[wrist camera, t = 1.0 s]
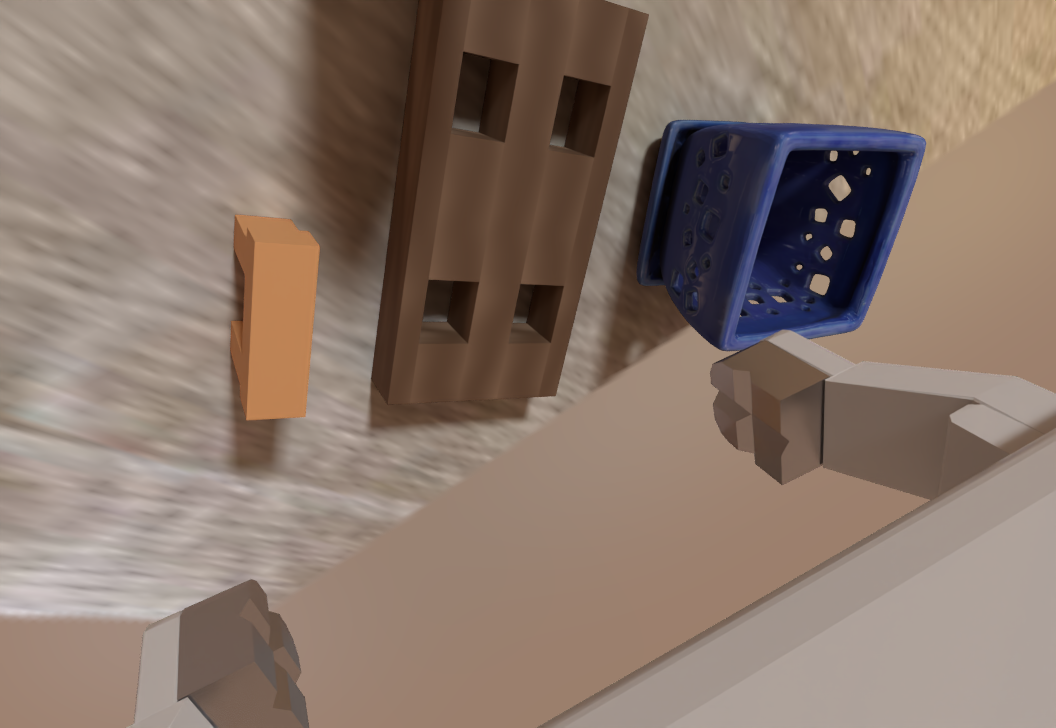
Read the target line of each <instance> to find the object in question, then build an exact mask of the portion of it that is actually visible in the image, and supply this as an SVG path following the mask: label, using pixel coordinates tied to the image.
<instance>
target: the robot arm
mask: <svg viewBox="0 0 1056 728" xmlns="http://www.w3.org/2000/svg"><path fill="white" fill-rule="evenodd" d="M710 376H711V384H712V385H713V386H714V387H716V388H717V389H718V390H719V392H718V394H717V396H716V399H715V401H714V403H713V409H714V416H715V420H716V423H717V425H718V427H719V429H720V431H721V433H722V434H723V436H724V437H725V438H726V439H727V441H728V442H729V443H730V444H732V445H733V446H734V447H735V448H736V449H738V450H741V451H745V452H750V453H754V457H755V464H756V465H757V466H759V467H760V468H761V469H762V470H764V471H765V472H766V473H767V474H769V475H770V476H771V477H772V478H774V479H775V480H776V481H777V482H779V483H780V484H781V485H784V484H786V483H788V482H790V481H792V480H794V479H796V478H798V477H800V476H802V475H804V474H806V473H808V472H810V471H812V470H814V469H816V468H818V467H820V466H822V465H823V468H827V469H830V470H833V471H836V472H840V473H843V474H846V475H850V476H853V477H856V478H860V479H863V480H866V481H870V482H873V483H876V484H880V485H883V486H887V487H890V488H893V489H897V490H900V491H903V492H906V493H910V494H913V495H916V496H920V497H923V498H926V499H930V501H928V502H927V503H925V504H923V505H922V506H920V507H918V508H916V509H915V510H913V511H911V512H910V513H908V514H906V515H904V516H902V517H901V518H899V519H897V520H896V521H894V522H892V523H890V524H888V525H887V526H885V527H883V528H882V529H880V530H878V531H876V532H875V533H873V534H871V535H870V536H868V537H866V538H864V539H863V540H861V541H859V542H857V543H856V544H854V545H852V546H851V547H849V548H847V549H845V550H843V551H842V552H840V553H839V554H837V555H835V556H833V557H831V558H830V559H828V560H826V561H824V562H823V563H821V564H819V565H817V566H816V567H814V568H812V569H811V570H809V571H807V572H805V573H804V574H802V575H800V576H799V577H797V578H795V579H793V580H792V581H790V582H788V583H786V584H785V585H783V586H781V587H779V588H778V589H776V590H774V591H773V592H771V593H769V594H767V595H766V596H764V597H762V598H760V599H759V600H757V601H755V602H753V603H752V604H750V605H748V606H747V607H745V608H743V609H742V610H740V611H738V612H736V613H734V614H733V615H731V616H729V617H728V618H726V619H724V620H722V621H721V622H719V623H717V624H715V625H714V626H712V627H710V628H708V629H707V630H705V631H703V632H702V633H700V634H698V635H696V636H695V637H693V638H691V639H690V640H688V641H686V642H684V643H682V644H681V645H679V646H677V647H676V648H674V649H672V650H671V651H669V652H667V653H665V654H663V655H662V656H660V657H658V658H656V659H655V660H653V661H651V662H650V663H648V664H646V665H644V666H643V667H641V668H639V669H637V670H636V671H634V672H632V673H631V674H629V675H627V676H625V677H624V678H622V679H620V680H618V681H617V682H615V683H613V684H611V685H610V686H608V687H606V688H604V689H603V690H601V691H599V692H598V693H596V694H594V695H592V696H591V697H589V698H587V699H585V700H584V701H582V702H580V703H579V704H577V705H575V706H573V707H572V708H570V709H568V710H566V711H565V712H563V713H561V714H560V715H558V716H556V717H554V718H552V719H551V720H549V721H547V722H545V723H544V724H542V725H540V726H539V727H537V728H1056V394H1055V393H1053V392H1050V391H1048V390H1046V389H1044V388H1042V387H1039V386H1037V385H1035V384H1032V383H1030V382H1028V381H1026V380H1023V379H1021V378H1019V377H1016V376H1005V375H996V374H986V373H976V372H966V371H956V370H945V369H936V368H925V367H916V366H906V365H895V364H885V363H875V362H866V361H862V362H860V363H858V364H854V363H852V362H850V361H848V360H846V359H844V358H842V357H841V356H839V355H837V354H835V353H833V352H831V351H829V350H827V349H825V348H824V347H822V346H820V345H817V344H815V343H814V342H812V341H810V340H808V339H806V338H804V337H803V336H801V335H799V334H797V333H795V332H793V331H791V330H781V331H779V332H777V333H775V334H773V335H771V336H769V337H766V338H764V339H762V340H760V341H759V342H758V343H756V344H754V345H751V346H749V347H747V348H745V349H743V350H741V351H739V352H737V353H735V354H733V355H731V356H728V357H726V358H724V359H722V360H720V361H718V362H716V363H714V364H713V365H712V368H711V371H710ZM300 673H301V669H300V664H299V657H298V654H297V651H296V647H295V644H294V641H293V638H292V636H291V634H290V632H289V630H288V628H287V626H286V624H285V622H284V621H283V620H282V618H281V616H280V614H277V613H274V612H270V611H268V603H267V595H266V593H265V592H264V591H263V589H262V588H261V587H260V585H259V584H258V582H257V581H255V580H252V579H250V580H248V581H246V582H244V583H241V584H239V585H237V586H234V587H232V588H230V589H228V590H225V591H223V592H221V593H219V594H216V595H214V596H212V597H210V598H207V599H205V600H203V601H201V602H198V603H196V604H194V605H191V606H189V607H187V608H185V609H184V610H182V611H179V612H177V613H175V614H172V615H170V616H168V617H166V618H164V619H161V620H159V621H157V622H155V623H152V624H150V625H149V626H148V627H147V628H146V630H145V632H144V633H143V637H142V647H141V656H140V666H139V676H138V687H137V695H136V705H135V715H134V724H132V725H130V726H128V727H126V728H309V723H308V716H307V709H306V702H305V697H304V696H303V694H302V693H301V691H300V690H299V688H298V687H297V685H296V682H297V680H298V678H299V676H300Z"/></svg>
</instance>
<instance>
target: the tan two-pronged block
mask: <svg viewBox="0 0 1056 728" xmlns="http://www.w3.org/2000/svg"><path fill="white" fill-rule="evenodd" d="M234 250H235V252H236V254H237V257H238V259H239V262H240V264H241V267H242V269H243V272H244V274H245V288H244V312H243V321H231V343H230V351H231V355H232V358H233V362H234V365H235V369H236V372H237V376H238V380H239V383H240V399H241V402H242V406H243V410H244V413H245V417H246V420H261V419H279V418H296V417H305V415H306V403H307V391H308V380H309V368H310V356H311V344H312V333H313V321H314V309H315V298H316V286H317V274H318V262H319V251H320V246H319V244H318V243H317V242H316V240H315V239H314V238H313V236H312V235H311V234H310V232H309V231H299V230H298V229H297V227H296V226H295V225H294V223H293V222H292V220H291V219H281V218H269V217H258V216H246V215H235V228H234Z"/></svg>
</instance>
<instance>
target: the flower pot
mask: <svg viewBox="0 0 1056 728" xmlns="http://www.w3.org/2000/svg"><path fill="white" fill-rule="evenodd" d="M925 147H926V141H925V139H924V138H922V137H921V136H919V135H915V134H911V133H906V132H900V131H893V130H886V129H878V128H868V127H857V126H842V125H819V124H798V123H745V122H731V121H703V120H676V121H672V122H670V123H669V124H667V126H666V128H665V130H664V133H663V136H662V141H661V145H660V150H659V154H658V159H657V164H656V169H655V173H654V178H653V183H652V188H651V192H650V197H649V202H648V208H647V213H646V218H645V224H644V229H643V234H642V240H641V245H640V251H639V256H638V263H637V280H638V282H639V284H641V285H643V286H657V285H665V286H666V289H667V291H668V293H669V295H670V297H671V299H672V301H673V302H674V304H675V305H676V307H677V308H678V310H679V311H680V313H681V314H682V315H683V317H684V318H685V319H686V320H687V321H688V323H689V324H690V325H691V326H692V327H693V328H694V329H695V330H696V331H697V332H698V333H699V334H700V335H701V336H702V337H703V338H705V339H706V340H707V341H708V342H709V343H710V344H712V345H713V346H715V347H716V348H718V349H720V350H722V351H739V350H743V349H745V348H747V347H749V346H751V345H754V344H756V343H758V342H759V341H760V340H762V339H764V338H766V337H769V336H771V335H773V334H775V333H777V332H779V331H781V330H791V331H793V332H795V333H797V334H799V335H801V336H803V337H804V338H806V339H813V338H818V337H824V336H830V335H836V334H842V333H847V332H851V331H854V330H856V329H857V328H858V327H859V326H860V325H861V324H862V322H863V320H864V318H865V315H866V313H867V311H868V308H869V306H870V303H871V301H872V298H873V296H874V294H875V291H876V289H877V286H878V284H879V281H880V279H881V276H882V273H883V271H884V268H885V266H886V262H887V260H888V257H889V254H890V252H891V249H892V247H893V244H894V241H895V238H896V236H897V233H898V230H899V228H900V225H901V222H902V219H903V217H904V214H905V211H906V208H907V205H908V202H909V199H910V196H911V193H912V191H913V188H914V185H915V182H916V179H917V176H918V172H919V169H920V166H921V162H922V159H923V155H924V152H925ZM831 151H837V152H838V156H837V160H836V161H830V152H831ZM853 151H859V153H858V154H857V155H854V154H853ZM867 168H870V169H871V173H870V175H866V170H867ZM839 175H842V176H843V177H844V178H845V179H846V181H847V183H848V184H849V186H850V188H851V192H850V194H849V195H848V196H847V197H846V198H844V199H843V200H842V201H838V200H837V198H836V197H835V196H834V194H833V193H832V191H831V190H830V189H829V183H830V182H831V181H832V180H833V179H835V178H836V177H838V176H839ZM818 208H823V209H826V210H827V212H828V214H827V218H826V221H825V222H818V221H816V220H815V210H816V209H818ZM843 220H853V221H855V223H856V225H855V232H854V236H853V237H852V238H850V237H846V236H844V235H842V234H840V228H841V225H842V223H843ZM807 234H812V238H811V239H809V240H806V235H807ZM826 246H828V247H829V248H830V250H831V251H832V256H831V258H830V259H828V260H824V259H823V258H822V256H821V254H820V252H821V250H822V249H823V248H824V247H826ZM799 264H800V265H802V266H803V267H802V269H801V270H798V269H797V268H796V266H797V265H799ZM815 274H821V275H825V276H827V277H829V279H830V283H829V287H828V290H827V292H826V294H825V295H820V294H818V293H816V292H814V291H812V290H810V288H809V287H810V284H811V281H812V278H813V276H814V275H815ZM772 296H779V297H782V298H784V299H785V300H786V301H787V302H782V303H779V302H777V301H776V300H775V299H774V298H773V297H772ZM748 300H754V301H757V302H758V303H759V304H751V303H750V302H749V301H748ZM740 315H741V316H742V317H740Z"/></svg>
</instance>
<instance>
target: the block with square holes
mask: <svg viewBox="0 0 1056 728" xmlns="http://www.w3.org/2000/svg"><path fill="white" fill-rule="evenodd" d="M648 17H649V14H646V13H643V12H639V11H636V10H633V9H630V8H627V7H624V6H620V5H617V4H614V3H611V2H608V1H605V0H419V2H418V10H417V18H416V26H415V34H414V42H413V50H412V58H411V66H410V74H409V82H408V90H407V98H406V106H405V114H404V122H403V130H402V138H401V146H400V154H399V162H398V170H397V178H396V186H395V194H394V202H393V210H392V218H391V226H390V234H389V242H388V250H387V258H386V266H385V274H384V282H383V290H382V298H381V306H380V314H379V322H378V329H377V337H376V345H375V353H374V361H373V369H372V377H371V379H372V381H373V382H374V384H375V385H376V387H377V389H378V390H379V392H380V393H381V395H382V397H383V398H384V400H385V401H386V403H387V405H393V404H412V403H431V402H451V401H470V400H489V399H509V398H528V397H547V396H556V392H557V388H558V384H559V380H560V376H561V372H562V368H563V364H564V359H565V355H566V351H567V347H568V343H569V339H570V335H571V331H572V327H573V323H574V319H575V315H576V311H577V306H578V302H579V298H580V294H581V290H582V286H583V282H584V278H585V274H586V270H587V266H588V262H589V257H590V253H591V249H592V245H593V241H594V237H595V233H596V229H597V225H598V221H599V217H600V213H601V209H602V204H603V200H604V196H605V192H606V188H607V184H608V180H609V176H610V172H611V168H612V164H613V160H614V156H615V151H616V147H617V143H618V139H619V135H620V131H621V127H622V123H623V119H624V115H625V111H626V107H627V102H628V98H629V94H630V90H631V86H632V82H633V78H634V74H635V70H636V66H637V62H638V58H639V54H640V49H641V45H642V41H643V37H644V33H645V29H646V25H647V21H648ZM463 53H467V54H471V55H475V56H480V57H484V58H488V59H491V63H490V69H489V75H488V81H487V87H486V93H485V99H484V105H483V111H482V117H481V123H480V129H479V132H473V131H467V130H461V129H455V128H452V122H453V116H454V109H455V103H456V96H457V90H458V83H459V76H460V70H461V63H462V57H463ZM564 76H565V77H569V78H573V79H577V80H579V82H578V87H577V91H576V96H575V101H574V105H573V110H572V114H571V119H570V124H569V128H568V133H567V138H566V142H565V147H560V146H554V145H549V144H550V140H551V135H552V130H553V125H554V120H555V115H556V111H557V106H558V101H559V96H560V91H561V87H562V82H563V77H564ZM428 280H449V281H454V284H453V290H452V296H451V302H450V308H449V314H448V320H447V322H422V320H423V313H424V306H425V300H426V293H427V287H428ZM520 284H534V285H535V286H534V290H533V295H532V299H531V304H530V309H529V313H528V318H527V323H512V322H513V318H514V313H515V308H516V303H517V298H518V294H519V289H520Z"/></svg>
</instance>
